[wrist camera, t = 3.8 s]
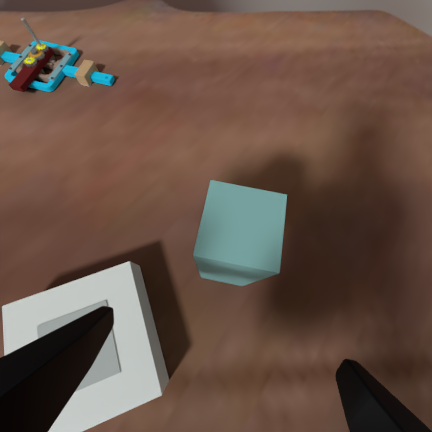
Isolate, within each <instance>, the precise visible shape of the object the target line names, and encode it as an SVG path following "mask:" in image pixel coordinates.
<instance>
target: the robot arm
mask: <svg viewBox="0 0 432 432" xmlns="http://www.w3.org/2000/svg"><path fill="white" fill-rule="evenodd" d="M113 325H114V310H113V308H112V307H108V306H101V307H99V308H97V309H95V310H93V311H91V312H89V313H87V314H85V315H83V316H81V317H79V318H78V319H76V320H74V321H72V322H70V323H68V324H66V325H64V326H62V327H60V328H58V329H56V330H54V331H52V332H50V333H48V334H46V335H44V336H42V337H40V338H38V339H36V340H34V341H32V342H31V343H29V344H27V345H25V346H23V347H21V348H19V349H17V350H15V351H13V352H11V353H9V354H7V355H5V356H3V357H1V358H0V432H48V431H49V429H50V428H51V426H52V425H53V423H54V422H55V421H56V419H57V418H58V416H59V415H60V413H61V412H62V410H63V409H64V407H65V406H66V404H67V403H68V401H69V400H70V398H71V397H72V395H73V394H74V392H75V391H76V389H77V388H78V386H79V385H80V383H81V382H82V380H83V379H84V377H85V376H86V374H87V373H88V371H89V370H90V368H91V367H92V365H93V363H94V361H95V360H96V358H97V356H98V354H99V352H100V350H101V349H102V347H103V345H104V343H105V341H106V339H107V337H108V336H109V334H110V332H111V330H112V328H113ZM336 381H337V385H338V389H339V393H340V397H341V401H342V405H343V409H344V413H345V417H346V421H347V424H348V427H349V430H350V432H432V431H431V430H430V429H429V428H428V427H427V426H426V425H425V424H424V423H422V422H421V421H420V420H419V419H418V418H417V417H416V416H415V415H414V414H413V413H412V412H411V411H410V410H408V409H407V408H406V407H405V406H404V405H403V404H402V403H401V402H400V401H399V400H398V399H397V398H396V397H395V396H393V395H392V394H391V393H390V392H389V391H388V390H387V389H386V388H385V387H384V386H383V385H382V384H381V383H379V382H378V381H377V380H376V379H375V378H374V377H373V376H372V375H371V374H370V373H369V372H368V371H367V370H366V369H364V368H363V367H362V366H361V365H360V364H359V363H358V362H357V361H354V360H349V359H344V360H343V362H342V363H341V365H340V366H339V368H338V369H337V371H336Z"/></svg>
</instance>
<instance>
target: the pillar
mask: <svg viewBox="0 0 432 432" xmlns="http://www.w3.org/2000/svg"><path fill="white" fill-rule="evenodd" d="M286 202H287V195H286V194H281V193H276V192H271V191H265V190H260V189H255V188H250V187H245V186H239V185H234V184H229V183H224V182H218V181H213V180H211V181H210V185H209V190H208V194H207V198H206V202H205V206H204V211H203V215H202V219H201V223H200V228H199V232H198V236H197V240H196V244H195V249H194V253H193V257H194V260H195V262H196V265H197V267H198V270H199V273H200V275H201V278H206V279H211V280H215V281H220V282H225V283H230V284H235V285H239V286H244V285H247V284H250V283H253V282H256V281H259V280H261V279H264V278H267V277H270V276H273V275H276V274H279V273H280V264H281V254H282V243H283V233H284V223H285V212H286Z"/></svg>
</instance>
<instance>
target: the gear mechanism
mask: <svg viewBox="0 0 432 432" xmlns="http://www.w3.org/2000/svg"><path fill="white" fill-rule="evenodd" d="M21 20H22V22H23V23H24V25H25V26H26V28H27V29H28V31H29V32H30V34H31V35H32V37H33V38H34V39H35V41H33V42H32V43H31V44H30V45H28V47H27V48H26V49H25V50H24V51H23V52H22V54H16V53H13V52H12V51H11V49H10V48H9V47H8V46H7V44H6V43H5V42H3V41H0V66H1V65H2V64H3V63H4V62H9V63H13V64H12V65H11V66H10V68H9V69H8V71H7V73H6V74H5V78H6V79H7V80H8V81H9V82H10V84H9V86H10V87H11V88H12V89H13V90H17V91H22V92H25V90H26V89H27V88H28V87H30V88H34V89H38V90H43V91H47V92H52V91H54V90H55V89H56V87H57V86H58V85H59V83H60V82H61V81H62V79H63V78H64V76H65V75H66V76H70V77H75V78H77V80H78V81H79V83H80V84H81V85H85V86H90V85H91V83H92V82H96V83H101V84H105V85H109V86H112V84H113V82H114V80H115V79H114V77H113V75H109V74H104V73H100V72H99V71H98V69H97V67H96V65H95V63H94V62H93V61H88V60H84V61H83V63H82V64H81V66H80V67H79V68H78V67H74V66H72V65H73V64H74V63H75V61H76V59H77V58H78V56H79V54H78V52H77V50H76V49H75V48H72V47H67V46H63V45H58V44H54V43H49V42H45V41H40V40H38V38H37V37H36V35H35V34H34V32H33V31H32V29H31V28H30V26H29V25H28V23H27V22H26V20H25V19H24V18H21ZM54 54H55V55H56V54H57V55H61V56H62V55H63V56H64V57H63V58H62V60H61V59H60V61H59V60H57V62H56V61H55V60H56V59H55V57H54V56H53V55H54ZM43 67H44V68H48V69H53V70H54V71H53V72H51V74H50V73H49V75H48V74H47V75H45V72H44V70H43ZM34 79H37V80H42V81H46V82H48V83H42V82H37V81H33V80H34Z"/></svg>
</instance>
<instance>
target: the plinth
mask: <svg viewBox="0 0 432 432" xmlns="http://www.w3.org/2000/svg"><path fill="white" fill-rule="evenodd" d="M101 306H108V307H112V308H113V310H114V325H113V328H112V330H111V332H110V334H109V336H108V337H107V339H106V341H105V343H104V345H103V347H102V349H101V350H100V352H99V354H98V356H97V358H96V360H95V361H94V363H93V365H92V367H91V368H90V370H89V371H88V373H87V374H86V376H85V377H84V379H83V380H82V382H81V383H80V385H79V386H78V388H77V389H76V391H75V392H74V394H73V395H72V397H71V398H70V400H69V401H68V403H67V404H66V406H65V407H64V409H63V410H62V412H61V413H60V415H59V416H58V418H57V419H56V421H55V422H54V423H53V425H52V426H51V428H50V429H49V431H48V432H82V431H84V430H87V429H89V428H91V427H93V426H95V425H97V424H100V423H102V422H104V421H106V420H108V419H111V418H113V417H115V416H117V415H119V414H122V413H124V412H126V411H128V410H130V409H133V408H135V407H137V406H139V405H141V404H144V403H146V402H148V401H150V400H152V399H155V398H157V397H159V396H161V395H162V394H163V392H164V390H165V388H166V386H167V384H168V382H169V377H168V374H167V370H166V366H165V362H164V358H163V354H162V350H161V346H160V342H159V338H158V335H157V331H156V327H155V323H154V319H153V315H152V311H151V307H150V303H149V300H148V296H147V292H146V288H145V284H144V280H143V276H142V272H141V268H140V266H139V265H137V264H135V263H132V262H130V261H128V262H126V263H123V264H120V265H117V266H114V267H111V268H109V269H106V270H103V271H100V272H97V273H95V274H92V275H89V276H86V277H83V278H80V279H78V280H75V281H72V282H69V283H66V284H63V285H61V286H58V287H55V288H52V289H49V290H47V291H44V292H41V293H38V294H35V295H32V296H30V297H27V298H24V299H21V300H18V301H16V302H13V303H10V304H7V305H4V306H2V313H3V333H4V354H5V355H7V354H9V353H11V352H13V351H15V350H17V349H19V348H21V347H23V346H25V345H27V344H29V343H31V342H32V341H34V340H36V339H38V338H40V337H42V336H44V335H46V334H48V333H50V332H52V331H54V330H56V329H58V328H60V327H62V326H64V325H66V324H68V323H70V322H72V321H74V320H76V319H78V318H79V317H81V316H83V315H85V314H87V313H89V312H91V311H93V310H95V309H97V308H99V307H101Z"/></svg>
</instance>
